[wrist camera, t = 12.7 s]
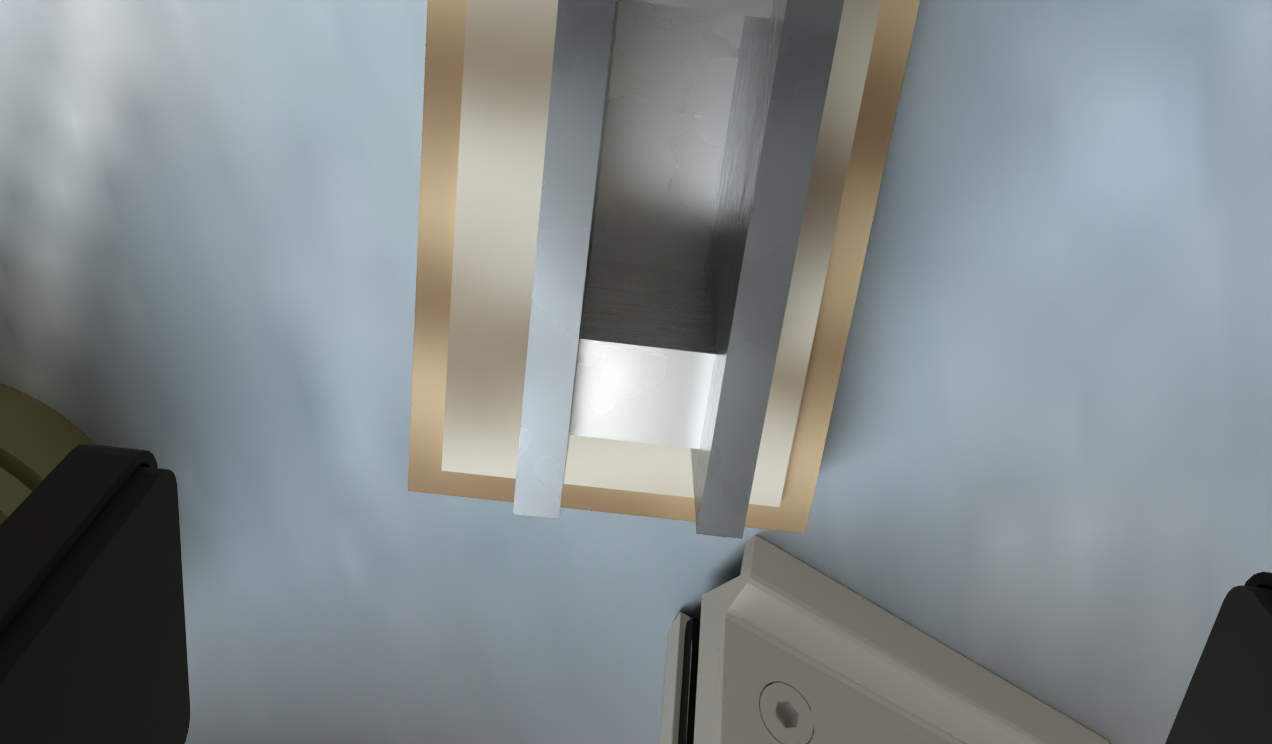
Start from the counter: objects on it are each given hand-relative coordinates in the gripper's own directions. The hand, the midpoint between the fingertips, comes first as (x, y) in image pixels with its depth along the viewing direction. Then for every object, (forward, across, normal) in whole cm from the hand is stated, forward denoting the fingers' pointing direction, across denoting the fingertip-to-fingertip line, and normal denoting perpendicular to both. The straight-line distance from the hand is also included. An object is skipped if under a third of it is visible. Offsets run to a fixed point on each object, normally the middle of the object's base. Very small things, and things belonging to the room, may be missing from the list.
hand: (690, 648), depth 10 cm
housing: (+21, 0, 0) cm, 21 cm away
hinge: (+25, -10, +21) cm, 34 cm away
